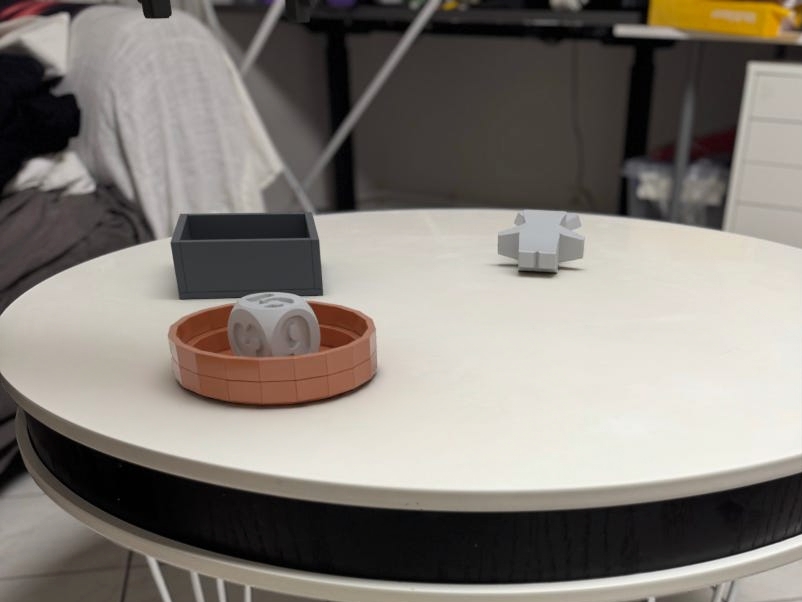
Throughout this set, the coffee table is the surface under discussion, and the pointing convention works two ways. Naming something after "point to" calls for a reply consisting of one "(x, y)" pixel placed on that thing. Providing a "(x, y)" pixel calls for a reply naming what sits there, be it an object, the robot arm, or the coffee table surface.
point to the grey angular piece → (542, 240)
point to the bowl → (273, 359)
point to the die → (273, 326)
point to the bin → (246, 254)
